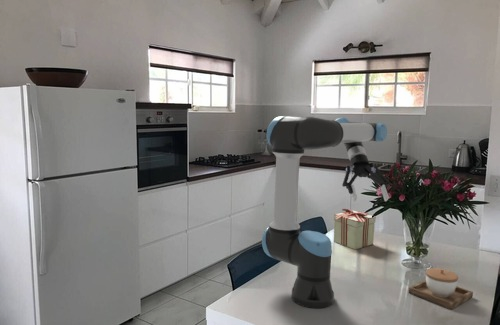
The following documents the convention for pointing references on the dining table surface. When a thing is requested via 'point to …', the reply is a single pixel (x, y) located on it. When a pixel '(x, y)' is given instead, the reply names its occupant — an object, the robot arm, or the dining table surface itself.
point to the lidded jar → (441, 282)
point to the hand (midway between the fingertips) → (371, 199)
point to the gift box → (354, 229)
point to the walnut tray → (448, 302)
